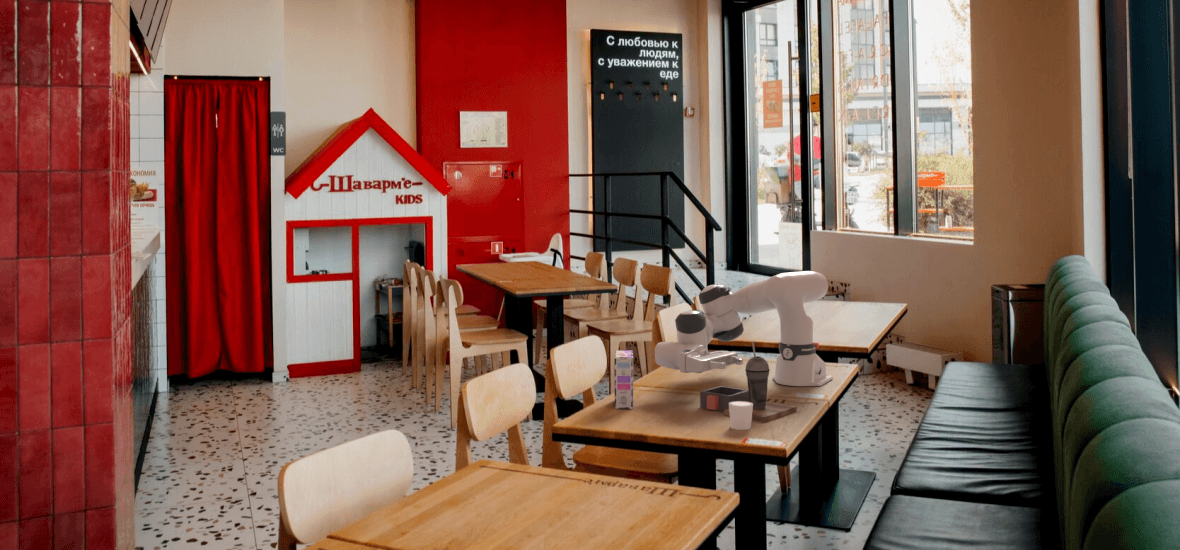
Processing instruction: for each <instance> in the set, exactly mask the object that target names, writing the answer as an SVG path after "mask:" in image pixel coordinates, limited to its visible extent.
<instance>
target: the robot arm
mask: <svg viewBox="0 0 1180 550" xmlns="http://www.w3.org/2000/svg"><path fill="white" fill-rule="evenodd" d="M731 290H732V288H731V287H729V286H728V287H727V286H726V285H723V284H719V283H716V284H710V285H707V286H705V287H704V288H703V289H702V290H700V292H699V294H698V300H699V304H701V307H702V310H700V309H690V310H687V311H682V312H680V313H679V314H678V315H677V316H676V318H675V320H674V322H675V323H674V324H675V328H676V339H677V342H676V341H660V342H658V343H657V344H656V345H655V347H654V350H653V354H654V361H655V363H656V364H657V365H658V366H660V367H664V368H666V369H671V370H677V371H678V370H680V373H683V374H687V373H695V374H701V373H704V372H708V371H712V370H724V369H726V368H727V366H731V365H743V363H744V359H743V358H740V357H738V353H737V352H736V351H727V350H714V351H709V350H708V345H709V344H710V342H711V341H712V340H713V339H714V340H715V339H716V340H718V341H720V342H723V343H725V342H732V341H736V339H738V338H739V337H740V336H742V335H743V333H744V331H745V329H744V324H743V322H742V320H741V318H740V315H739V314H742V315H743V314H744V315H752V314H753V315H755V314H759V313H763V312H768V311H773V310H776V311H777V314H778V318H779V325H780V329H779V330H780V331H779V332H780V341H779V344H778V353H779V355H778V356H777V357H776V363H775V371H774V372H775V374H774V375H772V380H774V381H775V383H777V384H780V385H783V386H791V387H821V386H823V385H824V384H826V383H828V382H830V381H831V380H833V376H832V375H830V374H827V371H826V370H827V367H826V362H825V361H824V360H823V359H822V358H821V357H820V356H819V355H818V354H817V353H816V351H817V350H816V349H819V347H820V343H819V342H814V322H813V319H812V318H811V317H810V316H809V315H808V314H806V311H805V308H804V304H808V303H813V302H816V301H819V300H820V299H822V298H824V297H825V296H826V295H827V294H828V290H829V283H828V280H827V278H826V276H825V275H824V274H822V273H821V272H817V271H812V270H802V271H801V270H800V271H790V272H788V271H787V272H781V273H778V274H776V275H773V276H770V278H767V279H764V280H760V281H756V282H752V283H750V284H746V285H745V286H744V285H743V287H741V288H739V289H737V290H736V291H733V292H732V291H731Z"/></svg>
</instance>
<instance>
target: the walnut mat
mask: <svg viewBox="0 0 1180 550" xmlns="http://www.w3.org/2000/svg"><path fill="white" fill-rule="evenodd" d="M797 409H798V408H797V406H795V405H790V404H784V403H783V404H782V403H778V402H772V401H767V400H766V408H765V409H753V411H752V422H753V421H754V422H760V423H767V422H770V421H773V420H775V419H778V418H782V417H784V416H788V415H789V414H792V413H796V412H797ZM723 415H724V416H729V417H730V414H729V409H726V410H724V411H723Z"/></svg>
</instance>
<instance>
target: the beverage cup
mask: <svg viewBox="0 0 1180 550" xmlns="http://www.w3.org/2000/svg"><path fill="white" fill-rule="evenodd" d="M751 345H752V352H753V356H752V357H751V358H749V359H748V361H747V362H746V365H745V376H746V379H747V380H746V381H747V388H748V389H747V390H749V400H750V402H751V403H753V409H765V408H766V401H767V398H768V397H767V396H768V394H767V393H768V383H769V382H768V381H769V375H770V371H771V370H770V367H769V366H770V365H769V363H768V361H767V360H766V359H765V358H764V357H761V356H756V348H755V342H754V341H752V342H751Z"/></svg>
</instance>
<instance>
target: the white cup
mask: <svg viewBox="0 0 1180 550" xmlns="http://www.w3.org/2000/svg"><path fill="white" fill-rule="evenodd" d="M752 411H753V403H751V402H746V401H733V402H729V414H730V416H729V423H730V428H731V429H732V430H737V431H745V430H746V431H747V430H750V429H751V428H752V422H753V420H752Z"/></svg>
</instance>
